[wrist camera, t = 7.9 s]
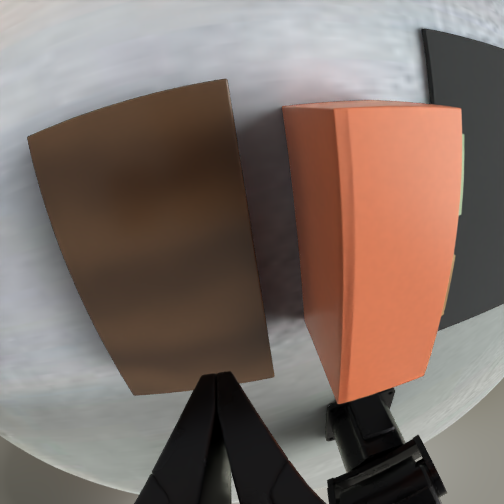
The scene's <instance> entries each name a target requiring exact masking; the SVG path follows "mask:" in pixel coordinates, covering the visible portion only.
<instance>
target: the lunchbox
mask: <svg viewBox="0 0 504 504" xmlns="http://www.w3.org/2000/svg"><path fill="white" fill-rule="evenodd" d="M282 112H283V119H284V126H285V133H286V141H287V149H288V156H289V164H290V173H291V181H292V190H293V199H294V208H295V217H296V227H297V237H298V248H299V258H300V270H301V282H302V294H303V307H304V321H305V323H306V326H307V328H308V331H309V333H310V336H311V338H312V340H313V343H314V345H315V348H316V350H317V353H318V355H319V358H320V361H321V363H322V366H323V368H324V371H325V373H326V376H327V378H328V381H329V383H330V386H331V388H332V391H333V394H334V396H335V399H336V401H337V404H342V403H346V402H349V401H352V400H356V399H359V398H362V397H365V396H369V395H372V394H375V393H378V392H381V391H384V390H387V389H390V388H392V387H395V386H398V385H401V384H403V383H406V382H409V381H411V380H414V379H417V378H419V377H422V376H424V374H425V371H426V368H427V365H428V362H429V358H430V355H431V352H432V348H433V345H434V341H435V338H436V334H437V330H438V327H439V323H440V319H441V315H442V311H443V306H444V302H445V297H446V293H447V288H448V283H449V278H450V272H451V267H452V261H453V255H454V248H455V241H456V233H457V225H458V216H459V205H460V193H461V175H462V114H461V108H458V107H450V106H442V105H434V104H424V103H413V102H400V101H383V100H357V101H336V102H322V103H309V104H299V105H289V106H282Z"/></svg>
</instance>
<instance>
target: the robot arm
mask: <svg viewBox="0 0 504 504" xmlns="http://www.w3.org/2000/svg"><path fill="white" fill-rule="evenodd" d="M394 393H395V389H394V388H393V387H392V388H390V389H387V390H384V391H381V392H378V393H375V394H372V395H369V396H365V397H362V398H359V399H356V400H352V401H349V402H346V403H342V404H337V403H335V404H332V405H330V406H328V407H327V418H326V433H325V438H326V441H332V440H336V443H337V446H338V449H339V452H340V455H341V458H342V460H343V463H344V466H345V469H346V472H347V473H345V474H343V475H341V476H338V477H336V478H331V479H329V480H327V483H328V488H327V490H328V499H329V504H442V502H441V500H440V498H439V497H441V496H443V495H444V494H446V493H447V491H446V489H445V487H444V485H443V483H442V481H441V478H440V476H439V474H438V472H437V470H436V468H435V466H434V464H433V463H432V460H431V458H430V456H429V454H428V452H427V450H426V448H425V446H424V444H423V442H422V440H421V439H420V437H419V435H417V436H415V437H414V438H413V439H412V440H410V441H409V442H407V443H405V440H404V438H403V436H402V434H401V432H400V430H399V428H398V426H397V424H396V422H395V420H394V418H393V416H392V414H391V412H390V410H389V409H390V406H391V403H392V400H393V396H394ZM421 456H422V457H423V458H422V459H421V460H419V461H417V462H415V460H416V459H417V458H419V457H421ZM231 472H232V476H233V480H234V484H235V488H236V491H237V495H238V499H239V502H240V504H326V503H325V502H324V501H323V500H322V499H321V498H320V497H319V496H318V495H317V494H316V493H315V492H314V491H313V490H312V489H311V488H310V487H309V485H308V484H307V483H306V482H305V480H304V479H303V478H302V477H301V475H300V474H299V473H298V472H297V470H296V469H295V467H294V466H293V465H292V463H291V462H290V461H289V460H288V458H287V456H286V455H285V453H284V452H283V450H282V449H281V448H280V446H279V445H278V443H277V442H276V440H275V439H274V437H273V436H272V434H271V433H270V431H269V430H268V428H267V427H266V425H265V424H264V422H263V421H262V419H261V418H260V416H259V414H258V413H257V411H256V410H255V408H254V407H253V405H252V404H251V402H250V400H249V399H248V397H247V396H246V394H245V392H244V391H243V389H242V388H241V386H240V384H239V383H238V381H237V379H236V378H235V376H234V375H233V373H232V372H231V371H225V372H219V373H217V375H216V374H215V373H212V374H205V375H202V376H201V377H200V379H199V381H198V383H197V385H196V387H195V388H194V390H193V392H192V394H191V396H190V398H189V400H188V402H187V404H186V406H185V408H184V410H183V412H182V414H181V416H180V418H179V420H178V422H177V424H176V426H175V428H174V430H173V432H172V434H171V436H170V438H169V439H168V441H167V443H166V445H165V447H164V449H163V451H162V453H161V455H160V457H159V459H158V461H157V463H156V465H155V467H154V469H153V471H152V474H150V476H149V478H148V480H147V482H146V484H145V486H144V487H143V489H142V491H141V493H140V495H139V496H138V498H137V500H136V502H135V503H134V504H231Z"/></svg>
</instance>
